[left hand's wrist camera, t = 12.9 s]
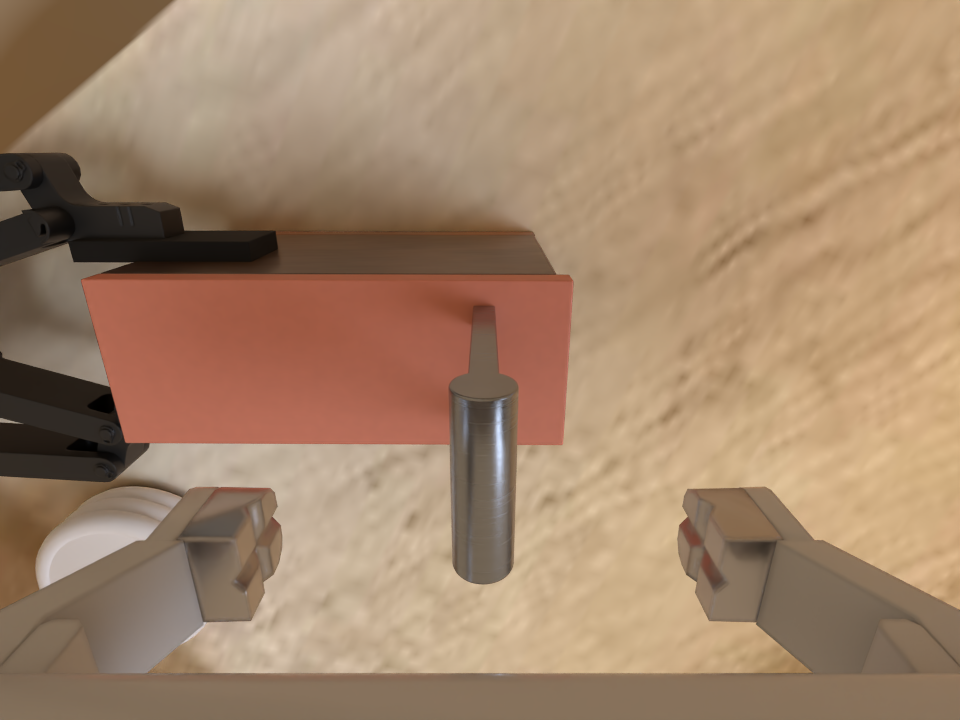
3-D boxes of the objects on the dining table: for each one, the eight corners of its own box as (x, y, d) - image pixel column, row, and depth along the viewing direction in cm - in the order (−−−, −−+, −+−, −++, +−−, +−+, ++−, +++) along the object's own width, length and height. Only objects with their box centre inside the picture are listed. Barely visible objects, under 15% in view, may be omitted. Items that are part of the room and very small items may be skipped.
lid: (569, 274, 18) (633, 368, 10) (559, 433, 20) (606, 609, 12) (98, 273, 18) (-187, 365, 10) (139, 431, 20) (-71, 603, 12)
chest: (533, 231, 27) (557, 273, 18) (529, 344, 29) (548, 432, 20) (227, 231, 27) (99, 272, 18) (246, 343, 29) (140, 431, 20)
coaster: (236, 619, 36) (211, 666, 33) (82, 599, 35) (41, 645, 32) (236, 494, 32) (208, 534, 29) (65, 470, 32) (16, 507, 28)
